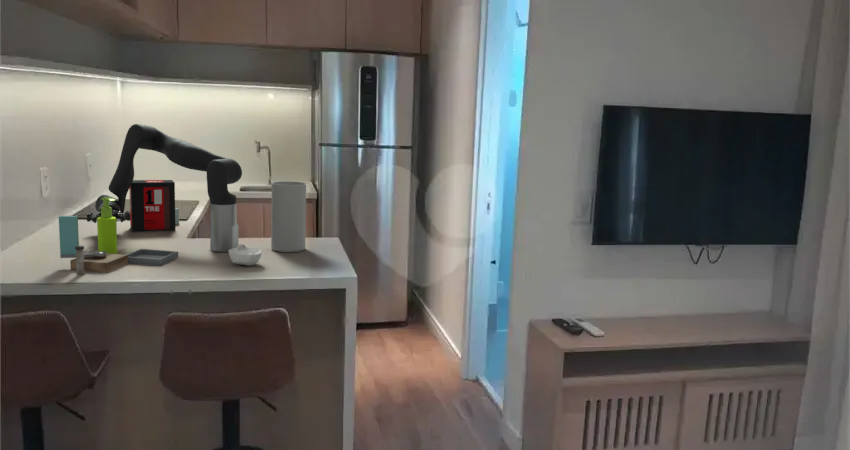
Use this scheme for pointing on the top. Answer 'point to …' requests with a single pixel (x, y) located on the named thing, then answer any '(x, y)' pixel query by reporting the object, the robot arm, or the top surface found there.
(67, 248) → the teal upright panel
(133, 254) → the tray
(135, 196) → the cleaning product box
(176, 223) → the right angle wall
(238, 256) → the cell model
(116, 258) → the crank base
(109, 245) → the soap dispenser
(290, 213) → the cylinder vase
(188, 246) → the top surface
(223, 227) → the robot arm
